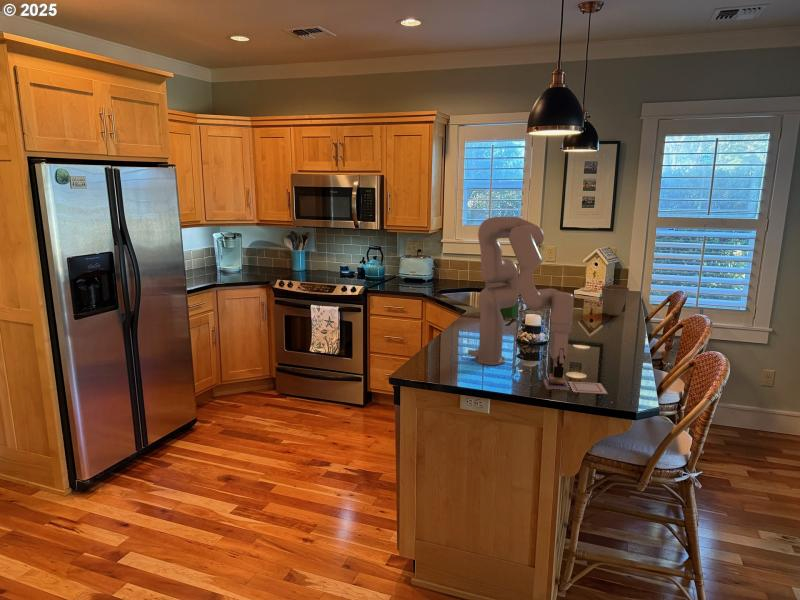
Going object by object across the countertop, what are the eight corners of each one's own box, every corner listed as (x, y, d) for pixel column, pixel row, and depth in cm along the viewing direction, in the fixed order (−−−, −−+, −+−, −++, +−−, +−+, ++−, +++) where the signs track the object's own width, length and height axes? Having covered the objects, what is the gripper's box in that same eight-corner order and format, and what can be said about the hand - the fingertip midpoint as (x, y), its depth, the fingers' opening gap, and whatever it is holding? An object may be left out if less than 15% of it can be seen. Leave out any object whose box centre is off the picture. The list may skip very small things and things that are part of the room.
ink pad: (546, 389, 191) (546, 385, 190) (543, 382, 197) (543, 378, 197) (569, 390, 190) (569, 386, 189) (565, 383, 196) (565, 379, 196)
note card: (572, 392, 188) (572, 391, 188) (567, 382, 198) (567, 381, 198) (607, 394, 187) (607, 393, 187) (600, 383, 196) (600, 382, 196)
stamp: (550, 383, 191) (552, 352, 189) (549, 379, 195) (551, 349, 193) (564, 384, 191) (567, 353, 188) (562, 380, 195) (565, 349, 192)
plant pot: (595, 314, 307) (597, 287, 304) (604, 310, 318) (607, 284, 315) (621, 318, 297) (624, 290, 294) (630, 313, 308) (633, 287, 305)
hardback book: (484, 313, 305) (485, 272, 300) (490, 311, 311) (492, 271, 306) (511, 318, 295) (514, 276, 290) (517, 316, 300) (520, 274, 295)
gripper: (546, 320, 197) (543, 367, 201) (553, 332, 181) (550, 382, 185) (567, 321, 196) (563, 368, 200) (576, 333, 180) (572, 383, 184)
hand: (557, 374), depth 192 cm, fingers closed on stamp, 3 cm apart
